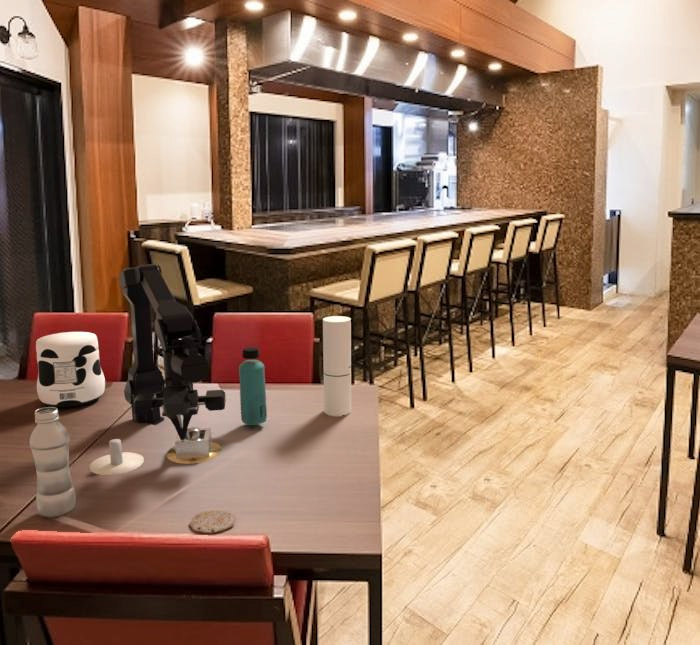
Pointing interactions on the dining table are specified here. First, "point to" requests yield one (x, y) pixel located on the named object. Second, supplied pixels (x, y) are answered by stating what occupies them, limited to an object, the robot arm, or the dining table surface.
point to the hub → (214, 452)
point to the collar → (194, 445)
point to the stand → (116, 461)
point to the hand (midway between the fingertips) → (182, 439)
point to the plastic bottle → (52, 464)
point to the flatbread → (212, 521)
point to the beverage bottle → (252, 388)
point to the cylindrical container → (337, 365)
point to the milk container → (69, 369)
